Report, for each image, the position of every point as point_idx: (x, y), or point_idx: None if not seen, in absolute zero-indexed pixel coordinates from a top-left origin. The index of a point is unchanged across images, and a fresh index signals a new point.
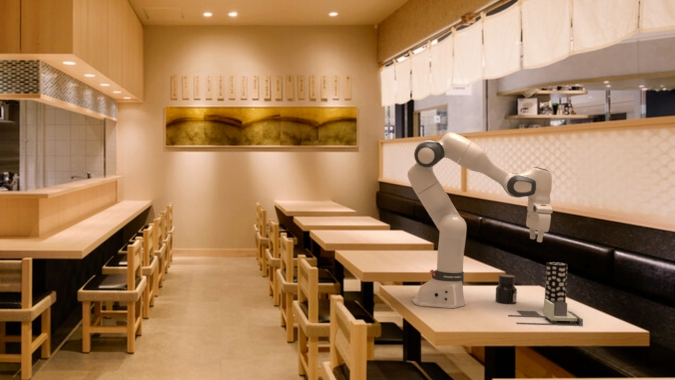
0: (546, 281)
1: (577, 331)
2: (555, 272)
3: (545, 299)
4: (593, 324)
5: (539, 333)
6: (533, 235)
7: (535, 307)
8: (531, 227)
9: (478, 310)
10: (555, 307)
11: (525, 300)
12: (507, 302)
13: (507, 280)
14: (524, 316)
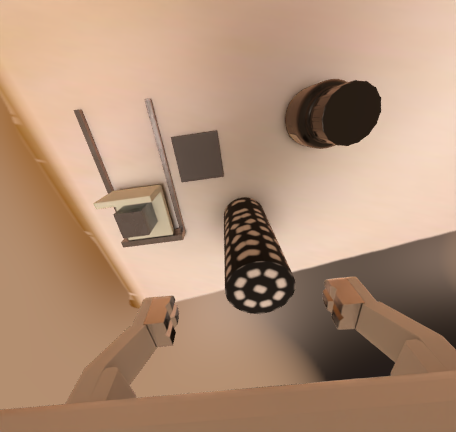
0: (246, 228)
1: (92, 225)
2: (225, 264)
3: (145, 198)
4: (159, 259)
5: (30, 152)
6: (340, 314)
7: (271, 184)
8: (326, 394)
9: (199, 10)
10: (118, 210)
11: (341, 173)
12: (286, 117)
13: (317, 114)
14: (156, 141)
